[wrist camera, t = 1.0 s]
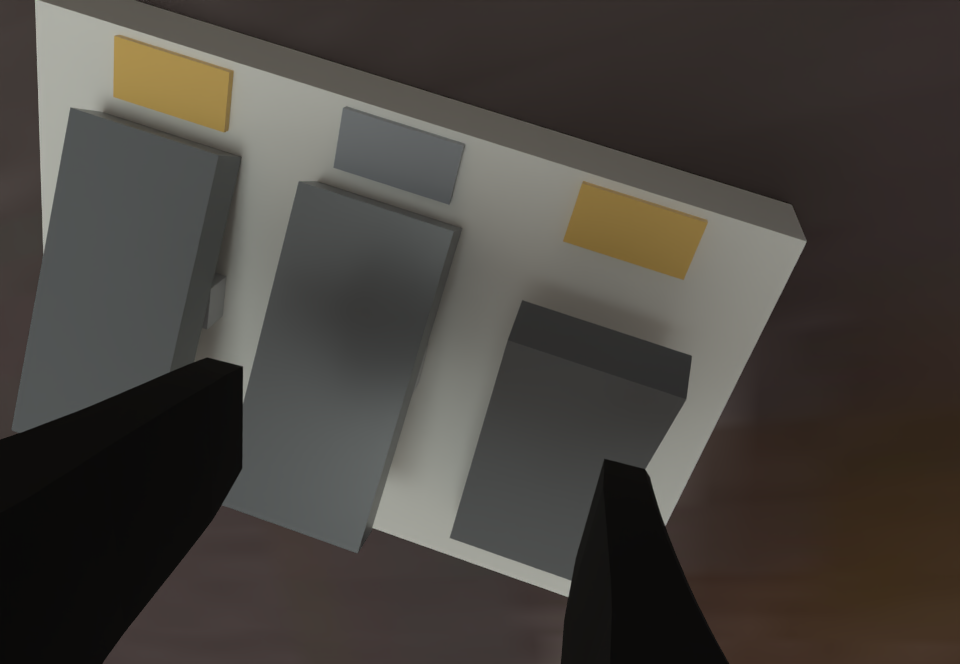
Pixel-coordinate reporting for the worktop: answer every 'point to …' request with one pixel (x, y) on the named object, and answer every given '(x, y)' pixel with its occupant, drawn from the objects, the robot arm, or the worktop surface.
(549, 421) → the rocker
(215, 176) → the rocker
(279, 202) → the switch panel
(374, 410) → the rocker
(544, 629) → the worktop surface
